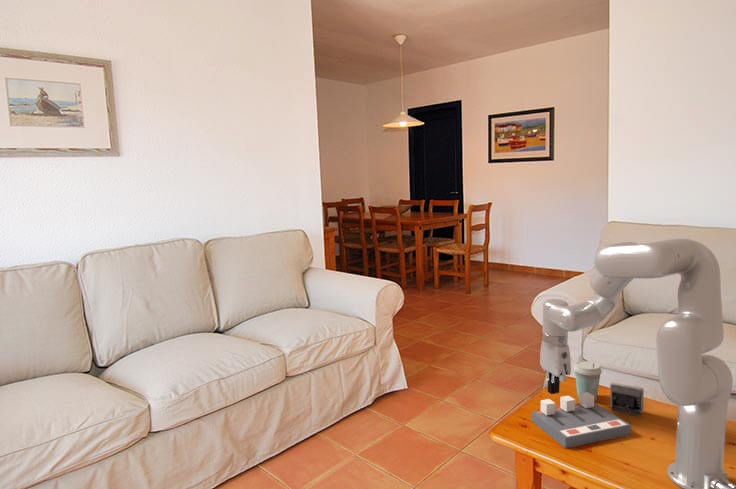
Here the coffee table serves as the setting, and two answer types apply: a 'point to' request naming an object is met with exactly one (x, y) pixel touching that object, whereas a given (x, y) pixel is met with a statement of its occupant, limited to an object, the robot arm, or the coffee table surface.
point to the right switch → (586, 400)
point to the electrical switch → (626, 399)
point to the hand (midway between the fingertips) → (553, 392)
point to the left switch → (547, 407)
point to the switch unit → (581, 425)
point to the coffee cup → (587, 377)
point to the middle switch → (567, 403)
